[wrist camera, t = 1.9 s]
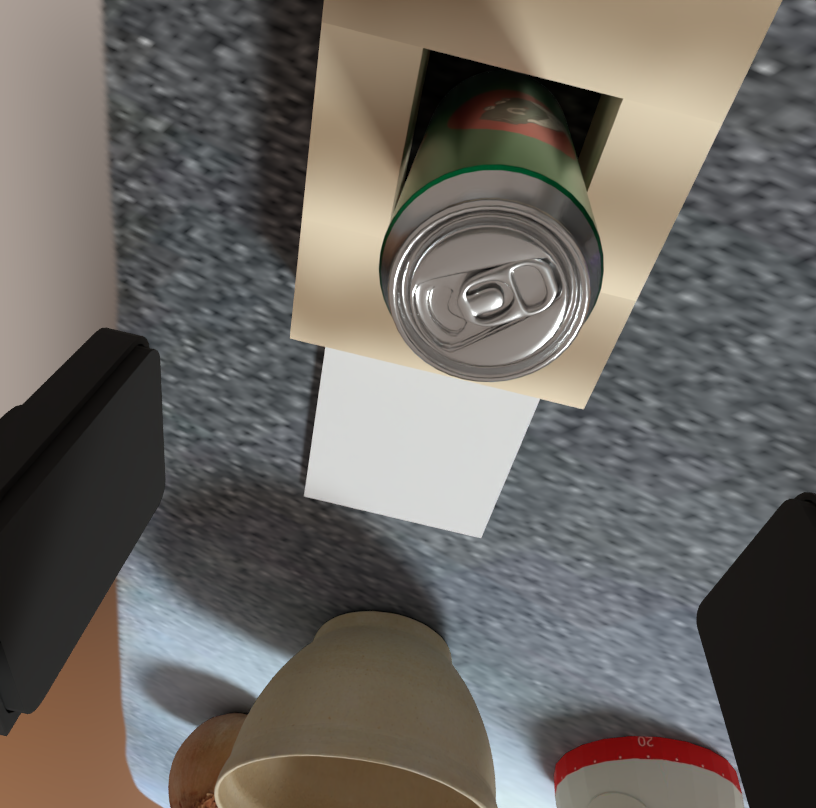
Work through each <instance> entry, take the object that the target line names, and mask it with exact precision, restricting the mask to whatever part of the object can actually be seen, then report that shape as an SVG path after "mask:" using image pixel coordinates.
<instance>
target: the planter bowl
mask: <svg viewBox="0 0 816 808" xmlns="http://www.w3.org/2000/svg"><path fill="white" fill-rule="evenodd" d="M214 797H215V802H216V804H217V806H218V808H498V807H497V804H496V787H495V774H494V766H493V759H492V754H491V749H490V744H489V740H488V737H487V733H486V730H485V727H484V724H483V721H482V718H481V716H480V713H479V711H478V708H477V706H476V704H475V702H474V700H473V697H472V695H471V693H470V691H469V690H468V688H467V686H466V684H465V683H464V681H463V679H462V678H461V676H460V675H459V673H458V672H457V670H456V669H455V668H454V666H453V665H452V659H451V653H450V650H449V648H448V646H447V644H446V643H445V641H444V640H443V639H442V638H441V637H440V636H439V635H438V634H437V633H436V632H435V631H433V630H432V629H430V628H429V627H427V626H426V625H424V624H422V623H420V622H418V621H416V620H413V619H411V618H408V617H405V616H402V615H398V614H393V613H387V612H378V611H360V612H353V613H347V614H343V615H340V616H337V617H335V618H333V619H331V620H329V621H328V622H326V623H325V624H324V625H323V626H322V627H321V628H320V629H319V630H318V632H317V633H316V635H315V637H314V640H313V642H312V643H310V644H309V645H307V646H306V647H304V648H303V649H302V650H301V651H299V652H298V653H297V654H296V655H295V656H293V657H292V658H291V659H290V660H289V661H288V662H287V663H286V664H285V665H284V666H283V667H282V668H281V669H280V670H279V671H278V672H277V674H276V675H275V676H274V677H273V678H272V680H271V681H270V682H269V683H268V685H267V686H266V687H265V689H264V690H263V691H262V693H261V694H260V695H259V697H258V698H257V700H256V701H255V703H254V705H253V706H252V708H251V710H250V712H249V713H248V715H247V717H246V719H245V721H244V723H243V725H242V727H241V729H240V732H239V734H238V736H237V739H236V741H235V744H234V746H233V749H232V752H231V755H230V757H229V758H228V760H227V761H226V763H225V764H224V766H223V768H222V770H221V771H220V774H219V776H218V779H217V782H216V785H215V789H214Z"/></svg>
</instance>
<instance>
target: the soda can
mask: <svg viewBox="0 0 816 808" xmlns="http://www.w3.org/2000/svg"><path fill="white" fill-rule="evenodd" d="M603 274H604V256H603V250H602V245H601V240H600V236H599V232H598V229H597V225H596V222H595V218H594V215H593V212H592V208H591V205H590V201H589V198H588V194H587V191H586V187H585V184H584V180H583V177H582V173H581V170H580V166H579V163H578V159H577V156H576V152H575V149H574V145H573V142H572V139H571V135H570V132H569V128H568V125H567V121H566V118H565V116H564V113H563V110H562V108H561V106H560V105H559V103H558V101H557V100H556V98H555V97H554V96H553V95H552V93H551V92H550V91H549V90H548V89H547V88H546V87H545V86H543V85H542V84H541V83H540V82H538V81H537V80H535V79H533V78H531V77H529V76H527V75H524V74H521V73H518V72H513V71H507V70H494V71H488V72H483V73H479V74H477V75H474V76H471V77H469V78H467V79H466V80H464V81H462V82H460V83H459V84H458V85H456V86H455V87H454V88H453V89H451V90H450V91H449V92H448V93H447V94H446V96H445V97H444V98H443V99H442V100H441V101H440V103H439V105H438V106H437V108H436V109H435V111H434V113H433V115H432V118H431V120H430V122H429V125H428V127H427V130H426V132H425V135H424V137H423V140H422V142H421V145H420V147H419V150H418V152H417V155H416V157H415V160H414V163H413V165H412V168H411V170H410V173H409V175H408V178H407V180H406V183H405V185H404V188H403V190H402V193H401V195H400V198H399V201H398V203H397V206H396V208H395V211H394V213H393V216H392V218H391V221H390V223H389V226H388V228H387V231H386V233H385V236H384V240H383V243H382V247H381V251H380V259H379V279H380V287H381V291H382V295H383V299H384V301H385V304H386V306H387V308H388V311H389V313H390V315H391V316H392V318H393V321H394V323H395V325H396V328H397V330H398V332H399V334H400V335H401V337H402V338H403V340H404V341H405V343H406V344H407V345H408V346H409V348H410V349H411V350H412V351H413V352H414V353H415V354H416V355H417V356H418V357H420V358H421V359H422V360H423V361H424V362H426V363H427V364H429V365H430V366H432V367H434V368H435V369H437V370H439V371H441V372H443V373H446V374H448V375H450V376H454V377H457V378H460V379H464V380H470V381H476V382H499V381H508V380H512V379H517V378H521V377H523V376H526V375H529V374H532V373H534V372H536V371H538V370H540V369H542V368H544V367H545V366H547V365H549V364H550V363H551V362H553V361H554V360H555V359H557V358H558V357H559V356H560V355H561V354H562V353H563V352H564V351H565V350H566V349H568V348H569V346H570V345H571V344H572V342H573V341H574V340H575V338H576V337H577V336H578V334H579V332H580V330H581V328H582V326H583V325H584V323H585V322H586V321H587V319H588V318H589V316H590V314H591V312H592V310H593V309H594V307H595V305H596V303H597V300H598V297H599V294H600V291H601V287H602V281H603Z"/></svg>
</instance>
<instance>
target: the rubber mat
mask: <svg viewBox="0 0 816 808" xmlns="http://www.w3.org/2000/svg"><path fill="white" fill-rule="evenodd" d="M539 400H540V399H539V398H535V397H531V396H527V395H522V394H518V393H514V392H510V391H506V390H502V389H498V388H493V387H489V386H485V385H481V384H477V383H473V382H469V381H464V380H460V379H456V378H452V377H448V376H444V375H440V374H435V373H431V372H427V371H423V370H419V369H415V368H411V367H406V366H402V365H398V364H394V363H390V362H386V361H382V360H377V359H373V358H369V357H365V356H361V355H357V354H353V353H348V352H344V351H340V350H336V349H332V348H328V347H325V354H324V360H323V367H322V374H321V381H320V388H319V395H318V402H317V409H316V416H315V423H314V430H313V437H312V444H311V451H310V458H309V465H308V472H307V479H306V486H305V493H304V497H309V498H313V499H317V500H321V501H326V502H330V503H334V504H338V505H343V506H347V507H351V508H355V509H360V510H364V511H368V512H372V513H377V514H381V515H385V516H389V517H394V518H398V519H402V520H406V521H411V522H415V523H419V524H423V525H428V526H432V527H436V528H440V529H444V530H449V531H453V532H457V533H461V534H466V535H470V536H474V537H478V538H481V537H482V534H483V532H484V530H485V527H486V525H487V523H488V520H489V518H490V516H491V513H492V511H493V508H494V506H495V504H496V501H497V499H498V497H499V494H500V492H501V490H502V487H503V485H504V483H505V480H506V478H507V475H508V473H509V471H510V468H511V466H512V464H513V461H514V459H515V457H516V454H517V452H518V450H519V447H520V445H521V442H522V440H523V438H524V435H525V433H526V431H527V428H528V426H529V424H530V421H531V419H532V417H533V414H534V412H535V409H536V407H537V405H538V402H539Z"/></svg>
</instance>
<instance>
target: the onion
mask: <svg viewBox="0 0 816 808" xmlns="http://www.w3.org/2000/svg"><path fill="white" fill-rule="evenodd" d="M246 717H247V714H242V713H229V714H224V715H220V716H216V717H213V718H211V719H209V720H207V721H206V722H204V723H203V724H201V725H200V726H199V727H197V728H196V729H195V730H194V731H193V732H192V733H191V734H190V735H189V736H188V738H187V739H186V740H185V741H184V742H183V744H182V745H181V747H180V748H179V750H178V751H177V753H176V755H175V758H174V760H173V762H172V766H171V770H170V774H169V787H168V788H169V802H170V807H171V808H218V806H217V804H216V802H215V797H214V789H215V785H216V782H217V779H218V776H219V774H220V771H221V770H222V768H223V766H224V764H225V763H226V761H227V760H228V758H229V757H230V755H231V752H232V749H233V746H234V744H235V741H236V739H237V736H238V734H239V732H240V729H241V727H242V725H243V723H244V721H245V719H246Z"/></svg>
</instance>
